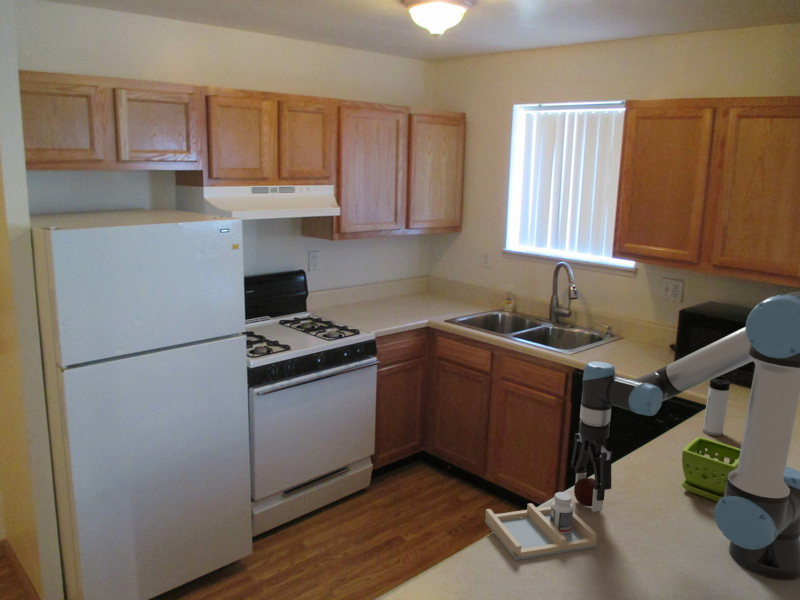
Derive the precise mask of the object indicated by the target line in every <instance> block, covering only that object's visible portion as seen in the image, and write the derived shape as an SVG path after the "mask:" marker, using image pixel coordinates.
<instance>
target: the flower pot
mask: <svg viewBox="0 0 800 600" xmlns="http://www.w3.org/2000/svg"><path fill="white" fill-rule="evenodd" d="M740 450H741V448H738V447H735V446H733V445H729V444H725V443H722V442H720V441H716V440H712V439H709V438H705V437H703V436H702V437H701V436H698V437H696V438H695V439H693V440H691V442H689V443H688V444H687V445H686V446H685V447H684V448H683V450H682V452H681V453H682V454H681V457H682V458H681V461H682V462H681V463H682V466H681V467H682V471H683V475H684V480H683V481H682V482H681V486H682V488H683V489H684V490H685V491H687V492H688V493H693V494H696V495H698V496H700V497H703V498H707V499H709V500H712V501H714V502H718V501H719V500H720V499H721V498H723V497H724V494H725V489H726V483H727V478H728V474H729V473H730V472H731V471H733V470H735V469H737V467H738V461H739V456H740ZM716 454H717V455H716ZM705 455H708V456H709V457H708V456H705ZM725 458H727V459H729V462H725Z"/></svg>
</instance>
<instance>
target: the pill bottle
mask: <svg viewBox="0 0 800 600" xmlns="http://www.w3.org/2000/svg"><path fill="white" fill-rule="evenodd" d="M553 499H554V500H553V501H552V503H551V506H550V507H551V514H550V522H551V523H552V524H553V525H554V527H555V528H556V529H557V530H558V531H559V532H560V533H561V534H567V533H569V532H571V528H572V517H573V512H574V506H573V504H572V496H571V494H570V493H567V492H563V491H558V492H556V493H555V494H554V498H553Z"/></svg>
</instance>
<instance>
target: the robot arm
mask: <svg viewBox="0 0 800 600" xmlns="http://www.w3.org/2000/svg"><path fill="white" fill-rule="evenodd" d="M751 362H753V363H754V365H755V366H754V372H753V376H752V384H751V389H750V393H749V394H750V395H749V400H748V404H747V405H748V406H747V410H746V411H747V412H746V416H745V417H746V418H745V421H744V427H743V435H742V440H741V445H740V449H741V450H740V456H739V461H738V467H737V469H735V470H733V471H731V472H730V473H729V474H728V478H727V483H726V489H725V494H724V497H723V498H721V499H720V500H719V501H718V502H717V501H716V502H717V503H716V504H715V506H714V510H713V515H714V516H713V517H714V521H715V524H716V526H717V528H718V529H719V530H720V532H722V535H723V536H724V538H726V539H727V540H729V547H728V551H729V554H730V556H731V558H733V560H734V561H736V562H737V563H738V564H739V565H741V566H743V568H745V569H747V570H749V571H751V572H753V573H755V574H757V575H758V574H759V575H760V576H764V577H766V578H771V579H776V580H794V579H798V578H799V577H800V471H799V470H796V469H794V468H792V467H789V466H787V462H788V457H789V453H790V452H789V451H790V446H791V441H792V437H793V432H794V426H795V421H796V416H797V411H798V407H799V406H798V405H799V400H800V290H796V291H795V290H794V291H791V292H788V293H784V294H777V295H774V296H771V297H768V298H766V299H764V300H762V301H761V302H759V303H757V305H756V306H755V307H753V309H752V310H751V311H750V313H749V314H748V316H747V318H746V322H745V326H744V327H742V328H739V329H738V330H736V331H734V332H731V333H730V334H727V336H726V335H725V336H724V337H722V338H720V339H718V340H716V341H713V342H712V343H709V344H708V345H706V346H704V347H701V348H699V349H698V350H695V351H694V352H691V353H689V354H687V355H685V356H684V357H682V358H679V359H677V360H675V361H673V362H671V363H670V364H668V365H665V366H662V367H660V368H659V369H657V370H655V371H653V372H649V373H647V374H644V375H642V376H640V377H636V378H634V379H632V378H627V377H623V376H621V375H617V374H616V368H615V366H614V365H613V364H611V363H608V362H605V361H590V362H588V363H586V364H585V365H584V370H583V376H582V388H581V389H582V393H581V402H580V413H579V419H580V420H579V425H578V433H574V435H573V436H574V437H573V438H574V445H573V449H572V450H573V451H572V455H571V456H572V457H571V461H570V466H571V468H574V473H575V479H574V481H575V484H576V482H577V481H578V480H580V479H583V478H587V466H588V463H589V461H590V462H591V463H592V467H593V474H594V479H595V483H596V487H594V489H593V501H592V506H591V512H593V513H595V512H601V511H603V508H604V507H603V506H604V500H605V493H606V491H607V490H612V460H613V456H614V453H613V451H609V450H607V448H606V441H607V440H608V438H609V437H610V430H611V429H610V428H611V425H610V422H611V417H612V416H611V414H612V406H614V407H617V408H620V409H624V410H627V411H628V412H629V411H630V412H632V413H635V414H638V415H644V416H646V417H651V416H655V415H656V414H657V413H658V411H660V408H661V407H662V403H663V402H664V401H666V400H669V399H672V398H674V397H677V395H680V394H682V393H684V392H686V391H689V390H691V389H692V388H693V389H694V388H695V387H697V386H699V385H700V386H701V385H702V384H704V383H706V382H710V380H711V379H713V378H716V377H719V376H723V375H725V374H726V373H730V372H731V371H734V370H736V369H739V368H740V367H743V366H744V365H747V364H749V363H751ZM575 484H574V485H575ZM573 495H574V497H575V494H573Z"/></svg>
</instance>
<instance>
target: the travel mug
mask: <svg viewBox="0 0 800 600" xmlns="http://www.w3.org/2000/svg"><path fill="white" fill-rule="evenodd" d="M730 385H731V381H730V379H728V378H726V377H725V376H723V375H720V376H718V377H716V378H713V379H711V380H709V386H708V390H707V398H706V406H705V413H704V420H703V426H702V427H703V428H702V431H703V433H704V434H706V435H708V436H711V437H721V436H723V434H724V426H725V422H726V421H725V420H726V414H727V408H728V399H729V393H730Z"/></svg>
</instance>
